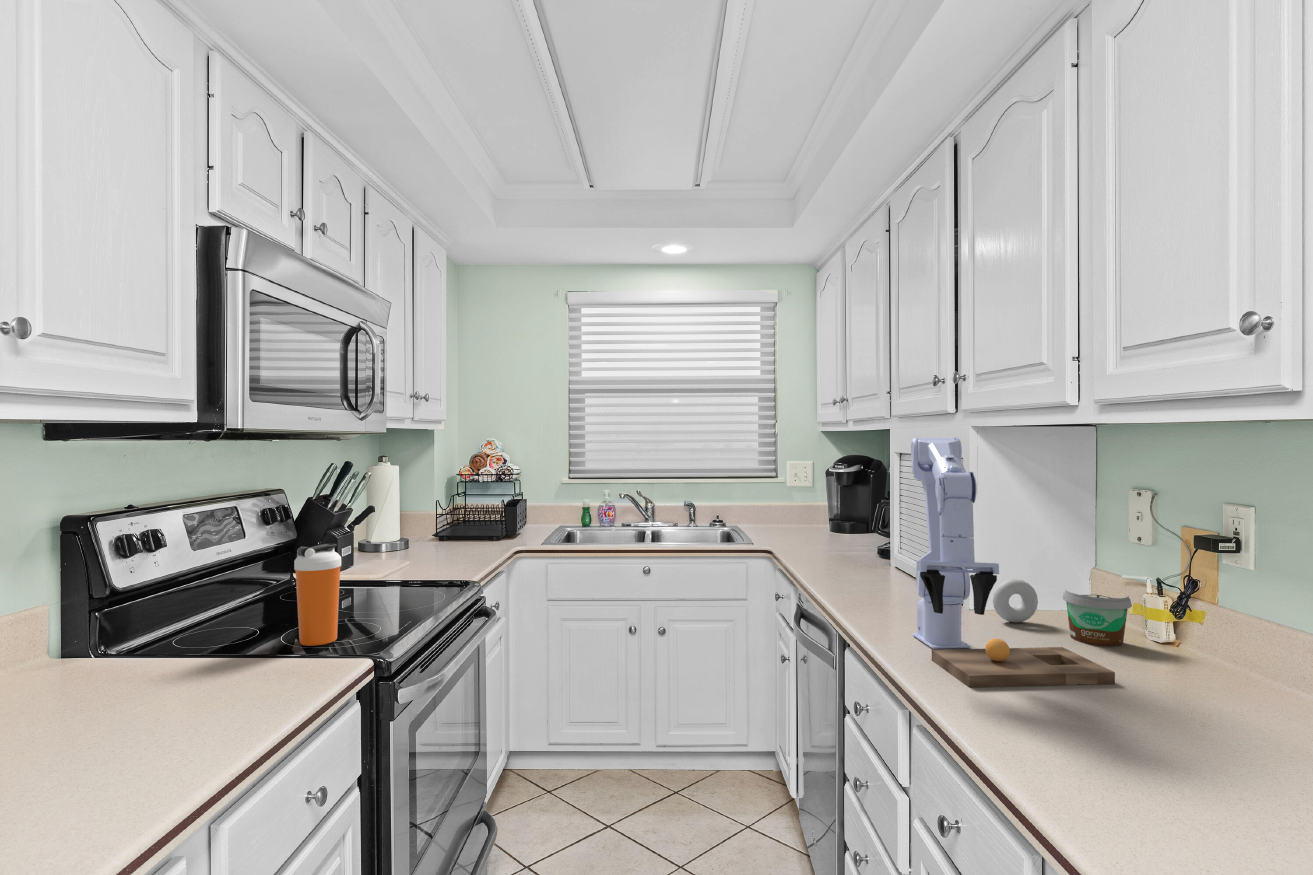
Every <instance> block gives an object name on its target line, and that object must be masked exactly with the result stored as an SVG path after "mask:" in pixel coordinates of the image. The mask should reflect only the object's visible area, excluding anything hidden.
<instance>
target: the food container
mask: <svg viewBox="0 0 1313 875" xmlns="http://www.w3.org/2000/svg"><path fill="white" fill-rule="evenodd" d="M1064 590H1065V591H1063V594H1062V600H1063V601H1065V603H1066V612H1067V618H1068V620H1067V621H1068V628H1069V636H1070V638H1071V639H1072V640H1074V641H1075V642H1079V643H1082V644H1085V645H1090V646H1096V647H1097V646H1098V647H1106V648H1108V647H1109V648H1113V647H1116V648H1117V647H1120V646H1122V645H1123V644H1124V640H1125V632H1126V625H1127V624H1126V623H1127V616H1128V610H1129V609H1130V608H1131V607H1132V601H1131V598H1130V596H1129V594H1128V595H1127V596H1125V597H1121V598H1120V597H1119V598H1118V597H1116V598H1115V597H1109V596H1104V595H1101V594H1077V593H1074V592H1071V591H1068V590H1067V589H1064Z"/></svg>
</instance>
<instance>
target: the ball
mask: <svg viewBox="0 0 1313 875" xmlns="http://www.w3.org/2000/svg"><path fill="white" fill-rule="evenodd" d="M984 647H985V648H984V649H985V650H986V653H987V655H988V657H989V658H991V659H992V660H994V661H1004V660H1006V659H1007V658H1008V657H1009V654H1010V649H1009V648H1010V647H1009V645H1008V643H1007V642H1005V641H1004V640H1002V639H1000V638H991V639H989V640H988V641H987V643H986V644H985V646H984Z"/></svg>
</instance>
